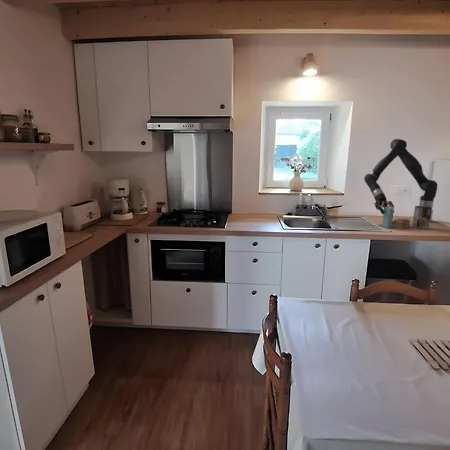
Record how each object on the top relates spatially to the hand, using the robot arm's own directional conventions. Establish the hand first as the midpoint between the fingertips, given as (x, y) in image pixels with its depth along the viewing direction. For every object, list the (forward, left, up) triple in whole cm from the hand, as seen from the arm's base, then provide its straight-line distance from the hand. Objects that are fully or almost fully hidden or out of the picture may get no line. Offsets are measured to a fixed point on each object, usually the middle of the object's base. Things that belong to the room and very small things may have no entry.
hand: (388, 213), depth 241 cm
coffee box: (-22, +9, -11) cm, 26 cm away
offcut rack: (-11, -1, -10) cm, 15 cm away
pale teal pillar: (0, 0, -10) cm, 10 cm away
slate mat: (0, 0, -10) cm, 10 cm away
